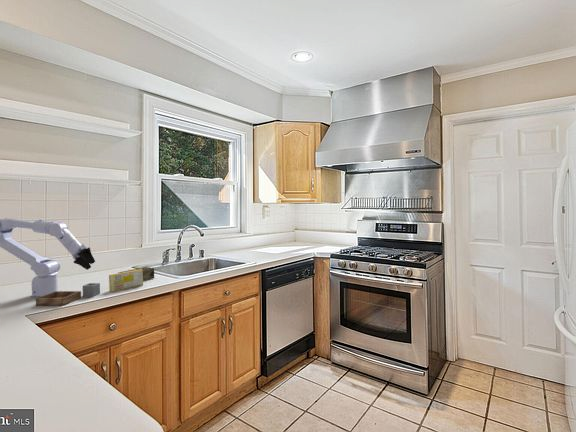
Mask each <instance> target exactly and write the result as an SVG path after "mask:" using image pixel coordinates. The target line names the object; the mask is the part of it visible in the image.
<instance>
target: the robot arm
mask: <svg viewBox="0 0 576 432" xmlns="http://www.w3.org/2000/svg"><path fill="white" fill-rule="evenodd" d="M15 228H18V229H19V228H20V229H29V230H32V231H33V232H34V233H38V234H44V235H45V234H47V235H49V236H52V237H55V239H57V240H58V241H59V242H60V243H61V245H62V246H63V247H64V248H65V249H66V250H67V251H68V253H70V254H71V257H72V259H73V263H74V264H77V265H79V266H80V267H82V268H83V269H85V270H86V271H87V270H89V269H91V268H92V266H91V265H93V264H95V263H96V260H95V258H94V256H93V254H92V251H91V247H87V246H86V245H85V244H84V243H82V244H81V243H80V241H79V240H78V239H77V238H76V237H75V236H74V234H72V232H70V231H69V226H68V225H67V224H66V223H64V222H63V221H62V222H60V221H59V222H55V221H53V220H52V221H47V220H45V219H42V218H41V219H37V220H35V221H29V220H23V219H19V218H7V217H6V218H0V248H2V249H3V250H5V251H6V252H8V253H10V254H11V255H13V256H15V257H16V258H18V259H19V260H21V261H23V262H24V263H26V264H28V265H30V270H31V271H33V272H34V274H35V276H34V277H33V278H32V281H31V295H30V297H36V298H39V297H42V296H44V295H47V294H50V293H52V292H55V291H59V289H58V272H59V271H60V269H61V264H60V262H59V261H58V260H55V259H51V258H49V257H44V256H41V255H39V254H37V253H36V252H35V251H33V250H32V249H29V248H28V247H26V246H24V245H23V244H21V243H20V242H18V241H17V240H14V239H13V238H12V235H13V232H14V229H15Z"/></svg>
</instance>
